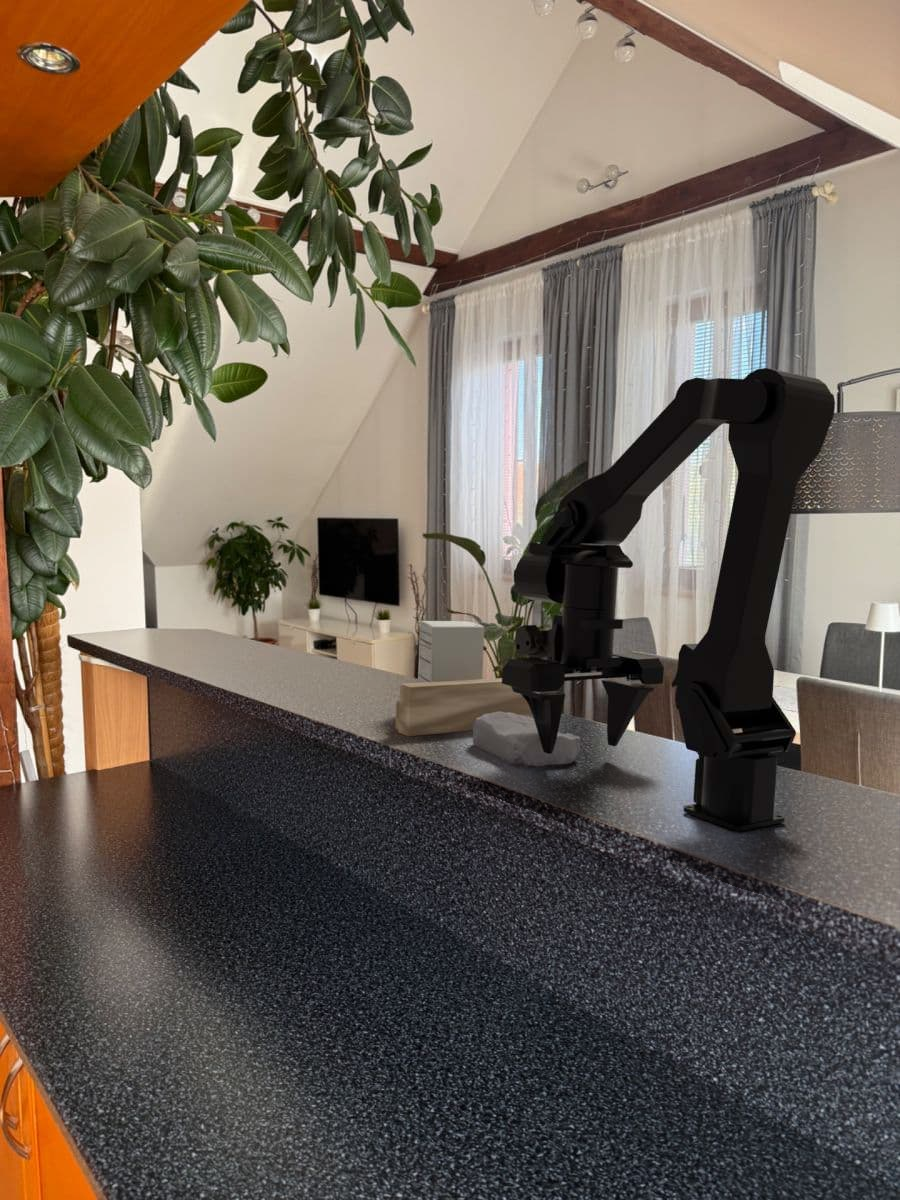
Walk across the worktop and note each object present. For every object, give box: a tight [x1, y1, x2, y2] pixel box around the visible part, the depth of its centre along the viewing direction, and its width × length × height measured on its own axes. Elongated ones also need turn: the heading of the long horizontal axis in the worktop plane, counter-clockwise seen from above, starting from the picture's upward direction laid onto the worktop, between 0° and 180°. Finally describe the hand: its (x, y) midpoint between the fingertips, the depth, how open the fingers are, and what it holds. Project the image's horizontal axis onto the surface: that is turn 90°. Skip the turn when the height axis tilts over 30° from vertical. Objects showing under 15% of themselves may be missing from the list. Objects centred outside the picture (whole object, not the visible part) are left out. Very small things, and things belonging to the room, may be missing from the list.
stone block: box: [472, 712, 581, 768], centre depth 104 cm, size 12×5×10 cm
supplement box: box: [417, 620, 485, 683], centre depth 124 cm, size 7×7×13 cm
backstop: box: [395, 677, 534, 737], centre depth 118 cm, size 4×22×6 cm, turn 122°
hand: (580, 749), depth 100 cm, fingers open, 9 cm apart
